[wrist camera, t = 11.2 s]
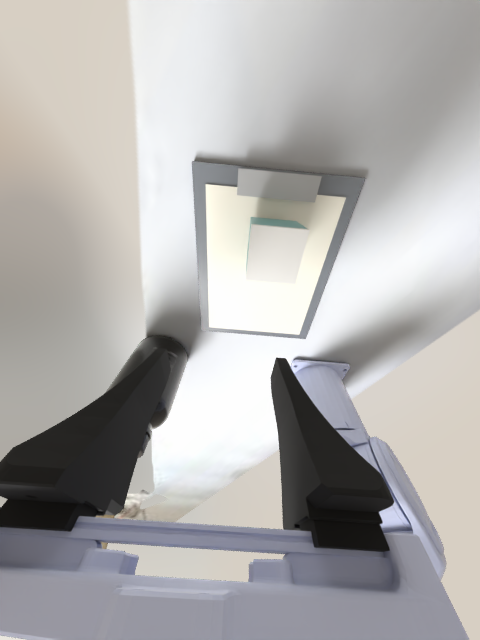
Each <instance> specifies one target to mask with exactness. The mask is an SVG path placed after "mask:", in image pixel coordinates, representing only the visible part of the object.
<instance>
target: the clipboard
mask: <svg viewBox="0 0 480 640" xmlns="http://www.w3.org/2000/svg"><path fill="white" fill-rule="evenodd" d="M192 173H193V191H194V209H195V227H196V244H197V262H198V280H199V298H200V316H201V330H203V331H215V332H227V333H239V334H252V335H264V336H276V337H288V338H300V339H306V336H307V334H308V331H309V328H310V326H311V323H312V320H313V318H314V315H315V312H316V309H317V307H318V304H319V301H320V299H321V296H322V293H323V291H324V288H325V285H326V283H327V280H328V277H329V275H330V272H331V269H332V267H333V264H334V261H335V259H336V256H337V253H338V250H339V248H340V245H341V242H342V240H343V237H344V234H345V232H346V229H347V226H348V224H349V221H350V218H351V216H352V213H353V210H354V208H355V205H356V202H357V200H358V197H359V194H360V191H361V189H362V186H363V183H364V181H365V178H361V177H351V176H340V175H330V174H320V173H309V172H299V171H289V170H278V169H268V168H257V167H247V166H237V165H226V164H216V163H206V162H195V161H192ZM251 217H258V218H269V219H280V220H291V221H297V222H298V223H300V224H301V225H303V226H304V227H306V228H307V229H309V230H310V231H309V234H308V238H307V242H306V246H305V249H304V253H303V257H302V261H301V264H300V268H299V272H298V275H297V279H296V283H295V284H286V283H275V282H263V281H252V280H246V259H247V249H248V239H249V229H250V218H251Z"/></svg>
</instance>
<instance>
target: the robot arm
mask: <svg viewBox="0 0 480 640" xmlns="http://www.w3.org/2000/svg"><path fill="white" fill-rule="evenodd" d="M349 369H350V365H349V364H346V363H333V362H321V361H309V360H294V361H293V362H292V364H291V367H290V365H289V363H288V362H287V360H286V359H285V358H276V360H275V364H274V368H273V371H272V375H271V390H272V398H273V404H274V410H275V416H276V422H277V428H278V437H279V450H280V464H281V483H282V508H283V528H284V530H282V529H266V528H251V527H236V526H221V525H206V524H205V525H204V524H190V523H176V522H161V521H146V520H131V519H116V518H101V517H96V516H104V515H116V514H118V513H119V512H120V511H121V510H122V509H123V508H124V504H125V500H126V496H127V492H128V489H129V485H130V482H131V478H132V475H133V472H134V468H135V465H136V462H137V458H138V455H139V452H140V449H141V446H142V443H143V440H144V437H145V434H146V431H147V428H148V425H149V423H150V420H151V418H152V416H153V413H154V411H155V409H156V407H157V405H158V402H159V400H160V398H161V396H162V393H163V391H164V389H165V387H166V384H167V381H168V378H169V375H170V372H171V367H170V362H169V357H168V353H167V349H161V348H157V349H156V350H155V351H154V352H153V353H152V354H150V355H149V356H148V357H147V358H146V359H145V360H144V361H143V362H142V363H141V364H140V365H139V366H138V367H136V368H135V369H134V370H133V371H132V372H131V373H130V374H129V375H127V376H126V377H125V378H124V379H123V380H121V381H120V382H119V383H118V384H117V385H115V386H114V387H113V388H112V389H110V390H109V391H108V392H106V393H105V394H104V395H102V396H101V397H99V398H98V399H97V400H95V401H94V402H92V403H91V404H89V405H88V406H86V407H85V408H83V409H82V410H80V411H78V412H77V413H75V414H74V415H72V416H71V417H69V418H67V419H66V420H64V421H62V422H60V423H59V424H57V425H55V426H53V427H52V428H50V429H48V430H46V431H44V432H43V433H41V434H39V435H37V436H35V437H33V438H31V439H30V440H27V441H25V442H23V443H21V444H20V445H18V446H16V447H14V448H12V450H11V451H10V452H9V453H8V454H7V455H6V456H5V457H4V458H3V459H2V461H1V462H0V496H2V497H4V498H7V499H8V500H7V501H6V503H5V504H4V505H3V506H2V507H0V635H1V636H7V637H14V638H21V639H27V640H469V638H468V636H467V634H466V632H465V630H464V628H463V626H462V623H461V621H460V619H459V617H458V615H457V613H456V611H455V609H454V607H453V605H452V603H451V601H450V599H449V597H448V595H447V593H446V591H445V589H444V587H443V585H442V583H441V579H442V577H443V574H444V572H445V568H446V560H445V556H444V547H443V544H442V542H441V539H440V537H439V535H438V533H437V531H436V529H435V527H434V525H433V523H432V522H431V520H430V518H429V516H428V514H427V512H426V510H425V508H424V506H423V503H422V501H421V500H420V497H419V496H418V494H417V492H416V490H415V488H414V486H413V485H412V483H411V481H410V479H409V477H408V476H407V474H406V472H405V471H404V469H403V467H402V465H401V464H400V462H399V461H398V459H397V458H396V456H395V455H394V453H393V451H392V450H391V449H390V447H389V446H388V445H387V443H385V442H384V441H382V440H380V439H379V438H377V437H372V438H370V436H369V435H368V434H367V431H366V429H365V427H364V425H363V423H362V421H361V419H360V417H359V415H358V413H357V411H356V409H355V407H354V405H353V403H352V401H351V399H350V397H349V394H348V392H347V390H346V388H345V386H344V384H343V382H342V380H343V378H344V377H345V375H346V373H347V372H348V370H349ZM100 542H104V543H121V544H136V545H151V546H166V547H183V548H197V549H198V548H199V549H213V550H229V551H230V550H231V551H244V552H260V553H275V554H276V553H277V554H286V555H285V556H284V557H283V560H277V559H272V560H271V559H254V561H253V562H251V563H250V564H249V582H237V581H221V580H205V579H189V578H188V579H187V578H172V577H156V576H140V575H135V569H136V566H137V562H138V559H139V557H138V555H133V554H129V553H126V552H125V551H118V550H108V549H102V543H100Z"/></svg>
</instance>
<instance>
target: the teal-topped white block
mask: <svg viewBox="0 0 480 640" xmlns="http://www.w3.org/2000/svg"><path fill="white" fill-rule="evenodd" d="M309 231H310V230H309V229H307V228H306V227H304V226H303V225H301V224H300V223H298V222H297V221H291V220H280V219H269V218H258V217H251V218H250V229H249V239H248V249H247V259H246V280H252V281H263V282H275V283H286V284H295V283H296V279H297V275H298V272H299V268H300V264H301V261H302V257H303V253H304V249H305V246H306V242H307V238H308V234H309Z"/></svg>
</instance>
